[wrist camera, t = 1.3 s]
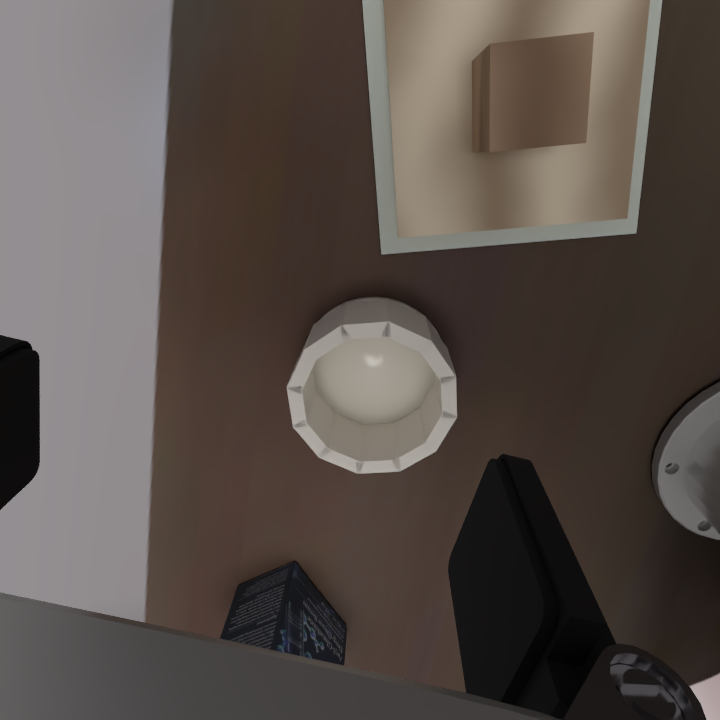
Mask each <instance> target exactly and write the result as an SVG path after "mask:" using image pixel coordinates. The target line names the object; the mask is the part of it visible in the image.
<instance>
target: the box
mask: <svg viewBox="0 0 720 720" xmlns="http://www.w3.org/2000/svg"><path fill="white" fill-rule="evenodd" d="M346 634H347V627H346V626H345V625H344V623H343V622H342V621H341V620H340V618H339V617H338V616H337V615H336V613H335V612H334V611H333V609H332V608H331V607H330V606H329V604H328V603H327V602H326V601H325V599H324V598H323V597H322V596H321V594H320V593H319V592H318V591H317V589H316V588H315V587H314V585H313V584H312V583H311V582H310V580H309V579H308V578H307V576H306V575H305V574H304V572H303V571H302V570H301V568H300V567H299V566H298V565H297V563H296V562H292V563H289V564H287V565H284V566H282V567H280V568H278V569H276V570H274V571H271V572H269V573H267V574H264V575H262V576H260V577H257V578H255V579H253V580H251V581H248V582H246V583H244V584H242V585H240V586H238V587H237V590H236V593H235V596H234V599H233V602H232V604H231V608H230V610H229V614H228V616H227V619H226V622H225V625H224V628H223V631H222V634H221V637H220V639H224V640H228V641H233V642H238V643H242V644H247V645H252V646H256V647H261V648H265V649H270V650H275V651H279V652H284V653H288V654H293V655H298V656H302V657H307V658H311V659H316V660H321V661H325V662H330V663H334V664H339V665H343V666H344V659H345V646H346Z"/></svg>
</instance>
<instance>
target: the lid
mask: <svg viewBox="0 0 720 720" xmlns="http://www.w3.org/2000/svg"><path fill="white" fill-rule="evenodd" d="M383 4H384V20H385V36H386V53H387V69H388V85H389V101H390V117H391V133H392V149H393V165H394V182H395V198H396V214H397V230H398V238H406V237H418V236H429V235H441V234H453V233H465V232H476V231H488V230H500V229H511V228H523V227H535V226H547V225H558V224H570V223H582V222H593V221H605V220H617V219H627V217H628V208H629V198H630V189H631V179H632V169H633V160H634V150H635V141H636V131H637V121H638V112H639V102H640V93H641V83H642V73H643V64H644V54H645V44H646V35H647V25H648V16H649V6H650V0H383Z"/></svg>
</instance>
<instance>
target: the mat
mask: <svg viewBox="0 0 720 720" xmlns="http://www.w3.org/2000/svg"><path fill="white" fill-rule="evenodd" d="M362 4H363V17H364V31H365V44H366V57H367V71H368V84H369V97H370V111H371V124H372V137H373V150H374V164H375V177H376V190H377V204H378V217H379V230H380V244H381V255H382V254H394V253H406V252H418V251H430V250H442V249H454V248H466V247H478V246H490V245H502V244H514V243H526V242H538V241H550V240H562V239H574V238H586V237H599V236H611V235H623V234H635V233H636V231H637V222H638V213H639V204H640V195H641V186H642V177H643V168H644V159H645V150H646V142H647V133H648V124H649V115H650V106H651V97H652V88H653V79H654V70H655V61H656V52H657V43H658V34H659V25H660V16H661V7H662V0H650V6H649V16H648V25H647V35H646V44H645V54H644V64H643V73H642V83H641V93H640V102H639V112H638V121H637V131H636V141H635V150H634V160H633V169H632V179H631V189H630V198H629V208H628V217H627V219H617V220H605V221H593V222H582V223H570V224H558V225H547V226H535V227H523V228H511V229H500V230H488V231H476V232H465V233H453V234H441V235H429V236H418V237H406V238H398V230H397V214H396V198H395V182H394V165H393V149H392V133H391V117H390V101H389V85H388V69H387V53H386V36H385V20H384V4H383V0H362Z"/></svg>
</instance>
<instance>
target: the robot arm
mask: <svg viewBox="0 0 720 720" xmlns="http://www.w3.org/2000/svg"><path fill="white" fill-rule="evenodd" d="M39 398H40V397H39V355H38V353H37V352H36V351H34V350H32V347H31V344H29V343H28V342H27V341H22V340H19V339H14V338H10V337H6V336H2V335H0V510H1V509H2V508H3V507H4V506H5V505H6V504H7V503H8V502H9V501H10V500H11V499H12V498H13V497H14V496H15V495H16V494H17V493H19V492H20V491H21V490H22V489H23V488H24V487H25V486H26V485H27V484H28V483H29V482H30V481H31V480H32V479H33V478H34V476H35V475H36V473H37V471H38V468H39V462H40V441H39V440H40V436H39V435H40V431H39V430H40V429H39V428H40V425H39V424H40V413H39V412H40V411H39V410H40V409H39V408H40V406H39V405H40V403H39V402H40V400H39ZM652 481H653V485H654V488H655V492H656V494H657V496H658V498H659V499H660V501H661V503H662V504H663V506H664V507H665V508H666V510H667V511H668V512H669V513H670V514H671V516H672V517H673V518H674V519H675V520H676V521H677V522H679V523H680V524H681V525H682V526H684V527H685V528H686V529H688V530H690V531H692V532H694V533H696V534H698V535H701V536H705V537H708V538H712V539H716V540H720V382H718V383H717V384H715V385H713V386H711V387H709V388H708V389H706V390H704V391H702V392H701V393H700V394H698V395H697V396H696V397H695V398H693V399H692V400H691V401H689V402H688V403H687V404H686V405H685V406H684V407H683V408H682V409H681V410H680V411H679V412H678V413H677V414H676V415H675V416H674V417H673V418H672V420H671V421H670V422H669V424H668V425H667V427H666V428H665V430H664V431H663V433H662V435H661V437H660V439H659V441H658V444H657V446H656V448H655V452H654V457H653V461H652ZM448 573H449V580H450V587H451V594H452V600H453V607H454V614H455V620H456V627H457V634H458V641H459V647H460V654H461V661H462V667H463V674H464V681H465V687H466V693H464V692H460V691H455V690H451V689H446V688H442V687H437V686H433V685H428V684H424V683H420V682H415V681H411V680H407V679H403V678H398V677H394V676H389V675H385V674H380V673H376V672H371V671H366V670H362V669H357V668H353V667H348V666H343V665H339V664H334V663H330V662H325V661H321V660H316V659H311V658H307V657H302V656H298V655H293V654H288V653H284V652H279V651H275V650H270V649H265V648H261V647H256V646H252V645H247V644H242V643H238V642H233V641H228V640H224V639H219V638H214V637H209V636H205V635H200V634H195V633H191V632H186V631H181V630H176V629H172V628H167V627H162V626H158V625H153V624H148V623H144V622H139V621H134V620H129V619H124V618H120V617H115V616H110V615H105V614H101V613H96V612H91V611H86V610H82V609H77V608H72V607H67V606H63V605H58V604H53V603H48V602H44V601H39V600H34V599H29V598H23V597H19V596H14V595H9V594H5V593H0V720H706V717H705V715H704V712H703V709H702V706H701V704H700V702H699V701H698V699H697V698H696V696H695V694H694V693H693V691H692V690H691V688H690V687H689V686H688V685H687V684H686V683H685V682H684V680H683V679H682V678H681V677H680V676H679V675H678V674H677V673H676V672H675V671H674V670H673V669H671V668H670V667H669V666H668V665H667V664H665V663H664V662H663V661H662V660H660V659H658V658H657V657H655V656H653V655H652V654H650V653H649V652H647V651H644V650H642V649H639V648H637V647H634V646H632V645H625V644H616V642H615V640H614V638H613V636H612V634H611V632H610V629H609V627H608V625H607V623H606V620H605V618H604V616H603V614H602V612H601V610H600V608H599V605H598V603H597V601H596V599H595V597H594V595H593V593H592V591H591V588H590V586H589V584H588V582H587V580H586V578H585V576H584V573H583V571H582V569H581V567H580V565H579V563H578V561H577V558H576V556H575V554H574V552H573V550H572V548H571V546H570V543H569V541H568V539H567V537H566V535H565V533H564V531H563V528H562V526H561V524H560V522H559V520H558V518H557V516H556V513H555V511H554V509H553V507H552V505H551V503H550V501H549V498H548V496H547V494H546V492H545V490H544V488H543V486H542V483H541V481H540V479H539V477H538V475H537V473H536V471H535V468H534V466H533V464H532V463H531V461H530V460H527V459H522V458H518V457H514V456H510V455H505V454H502V455H500V457H499V458H498V460H497V459H491V460H490V461H489V462H488V464H487V467H486V469H485V471H484V474H483V476H482V479H481V481H480V484H479V486H478V489H477V491H476V494H475V496H474V499H473V501H472V504H471V506H470V508H469V511H468V513H467V516H466V518H465V521H464V523H463V526H462V528H461V531H460V533H459V536H458V538H457V541H456V543H455V545H454V548H453V550H452V553H451V556H450V560H449V566H448Z"/></svg>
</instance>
